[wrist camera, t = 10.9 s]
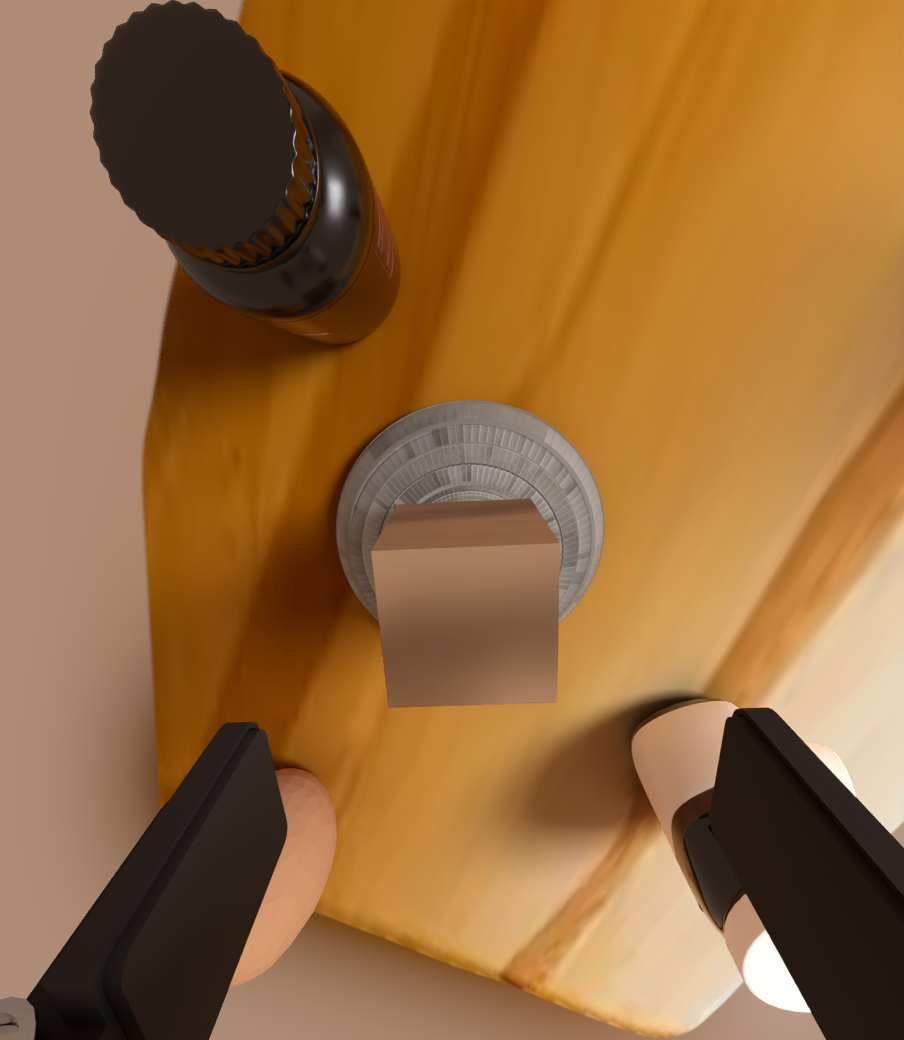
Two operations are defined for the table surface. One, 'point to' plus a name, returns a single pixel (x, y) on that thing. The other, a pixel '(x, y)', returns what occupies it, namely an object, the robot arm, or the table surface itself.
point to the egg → (292, 872)
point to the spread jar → (711, 833)
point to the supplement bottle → (243, 174)
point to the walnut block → (468, 604)
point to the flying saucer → (472, 485)
